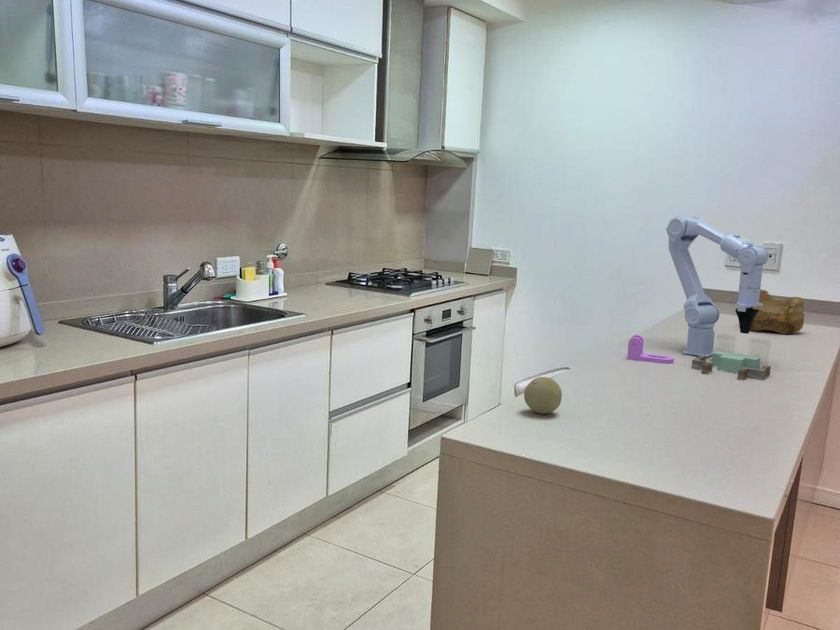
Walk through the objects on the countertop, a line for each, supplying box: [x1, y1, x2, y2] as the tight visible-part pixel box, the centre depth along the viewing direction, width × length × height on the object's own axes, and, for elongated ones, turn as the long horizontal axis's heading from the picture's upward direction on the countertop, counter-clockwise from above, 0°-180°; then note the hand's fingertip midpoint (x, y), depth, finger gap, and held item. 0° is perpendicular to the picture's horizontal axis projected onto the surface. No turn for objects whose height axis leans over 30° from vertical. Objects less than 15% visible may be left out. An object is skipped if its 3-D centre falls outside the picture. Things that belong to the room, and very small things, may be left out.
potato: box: [523, 376, 563, 415], centre depth 156 cm, size 8×8×8 cm
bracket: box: [626, 334, 675, 365], centre depth 212 cm, size 13×6×7 cm, turn 66°
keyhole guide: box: [691, 355, 772, 381], centre depth 200 cm, size 13×19×2 cm
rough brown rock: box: [750, 288, 805, 335], centre depth 268 cm, size 23×17×15 cm
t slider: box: [710, 350, 761, 374], centre depth 204 cm, size 9×12×4 cm
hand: (744, 333), depth 210 cm, fingers closed
